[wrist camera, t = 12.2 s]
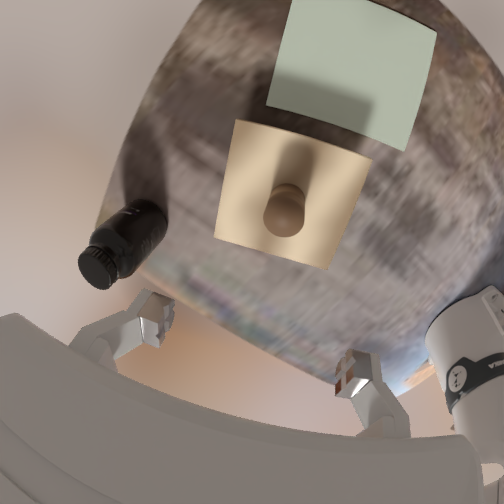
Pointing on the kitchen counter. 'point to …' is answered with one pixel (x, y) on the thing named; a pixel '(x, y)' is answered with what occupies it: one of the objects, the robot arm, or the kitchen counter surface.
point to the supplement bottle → (122, 243)
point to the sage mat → (353, 67)
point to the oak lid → (288, 193)
